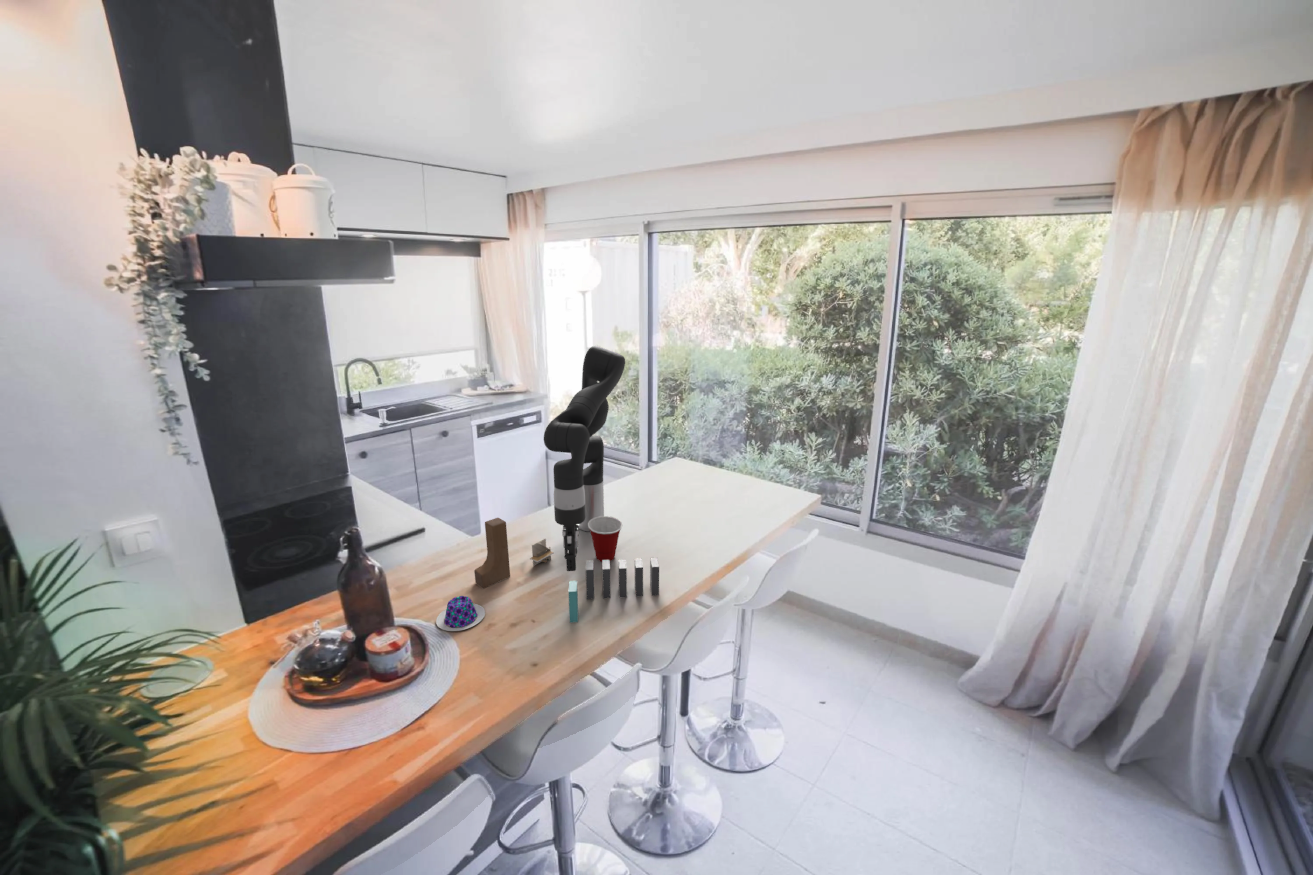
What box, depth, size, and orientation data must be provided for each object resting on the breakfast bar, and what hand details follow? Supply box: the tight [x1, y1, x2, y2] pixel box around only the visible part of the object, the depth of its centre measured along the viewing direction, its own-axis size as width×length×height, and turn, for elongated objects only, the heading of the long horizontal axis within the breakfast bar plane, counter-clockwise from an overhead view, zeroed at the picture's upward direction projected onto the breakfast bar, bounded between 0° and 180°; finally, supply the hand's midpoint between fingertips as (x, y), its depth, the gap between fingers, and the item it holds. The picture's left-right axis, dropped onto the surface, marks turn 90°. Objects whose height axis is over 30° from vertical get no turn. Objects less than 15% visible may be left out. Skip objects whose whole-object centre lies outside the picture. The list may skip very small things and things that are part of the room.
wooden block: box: [473, 517, 511, 589], centre depth 153 cm, size 9×4×18 cm, turn 136°
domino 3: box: [601, 560, 611, 599], centre depth 149 cm, size 2×5×9 cm, turn 6°
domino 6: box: [649, 557, 660, 597], centre depth 150 cm, size 2×5×9 cm, turn 6°
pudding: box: [435, 595, 486, 632], centre depth 138 cm, size 12×12×5 cm
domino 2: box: [585, 560, 595, 600], centre depth 148 cm, size 2×5×9 cm, turn 6°
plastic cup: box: [588, 515, 623, 563], centre depth 167 cm, size 11×11×12 cm
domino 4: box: [618, 558, 628, 598], centre depth 149 cm, size 2×5×9 cm, turn 6°
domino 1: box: [567, 580, 579, 623], centre depth 138 cm, size 2×5×9 cm, turn 6°
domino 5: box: [634, 557, 644, 598], centre depth 150 cm, size 2×5×9 cm, turn 6°
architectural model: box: [529, 538, 554, 567], centre depth 164 cm, size 3×7×7 cm, turn 145°
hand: (572, 561), depth 135 cm, fingers open, 8 cm apart
